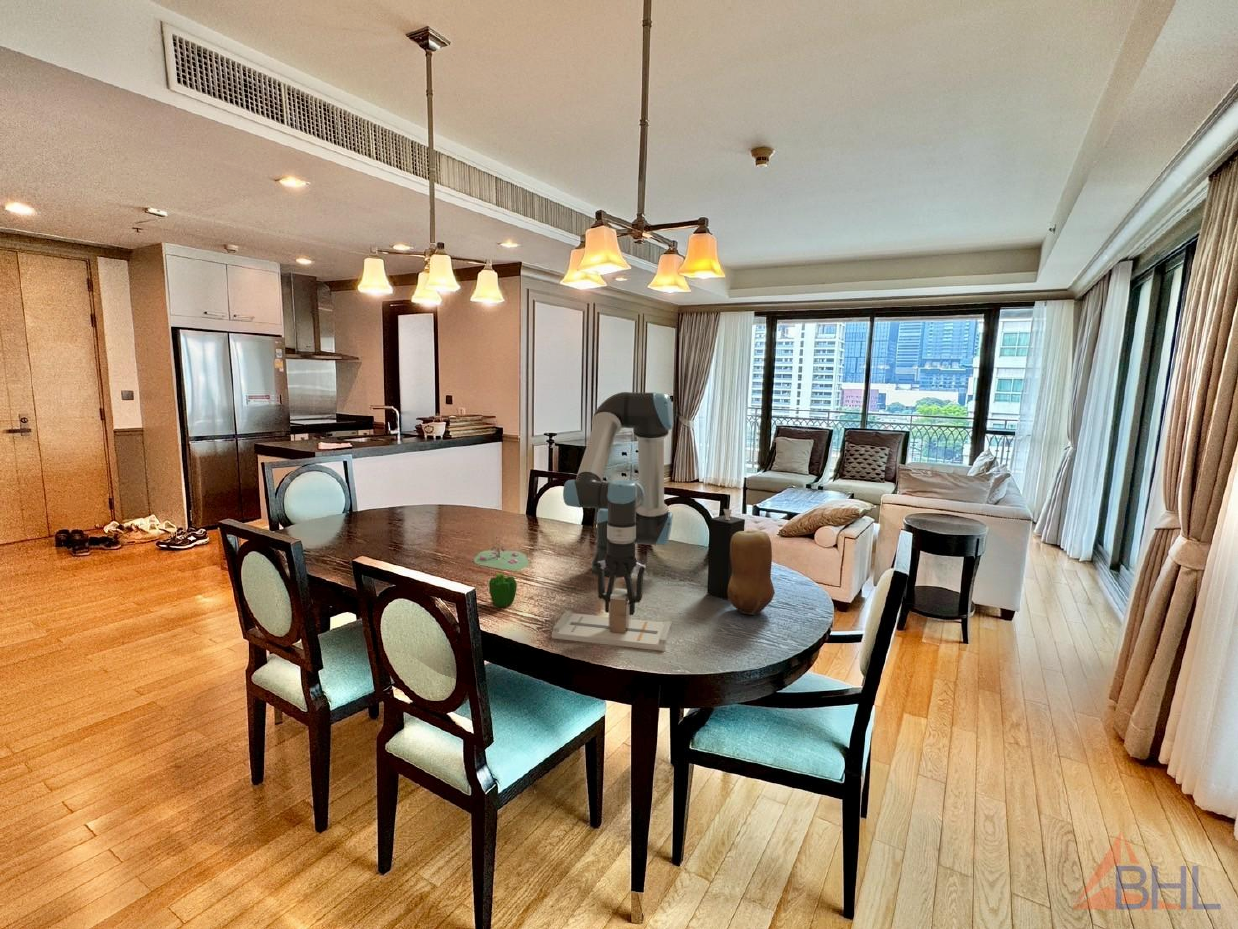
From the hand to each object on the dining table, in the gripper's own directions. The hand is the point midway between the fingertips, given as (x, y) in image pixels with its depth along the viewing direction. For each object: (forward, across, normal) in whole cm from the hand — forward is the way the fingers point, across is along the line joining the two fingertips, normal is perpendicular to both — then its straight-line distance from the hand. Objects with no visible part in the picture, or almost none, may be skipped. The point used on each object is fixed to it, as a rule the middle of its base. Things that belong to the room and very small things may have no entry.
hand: (619, 624), depth 159 cm
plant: (+4, -55, +52) cm, 76 cm away
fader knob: (+1, 0, 0) cm, 1 cm away
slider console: (+3, -2, 0) cm, 3 cm away
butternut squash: (+3, +34, +24) cm, 42 cm away
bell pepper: (+3, -39, +12) cm, 41 cm away
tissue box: (+3, +26, +38) cm, 46 cm away
